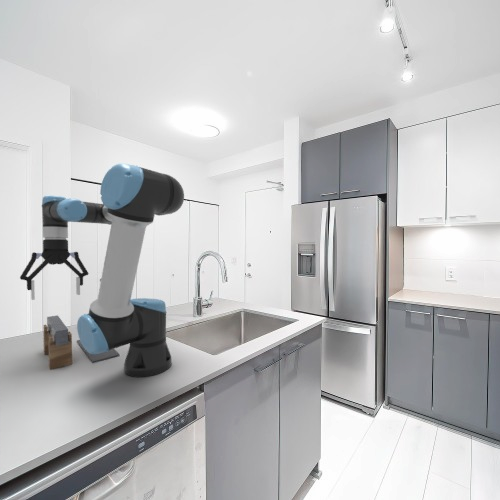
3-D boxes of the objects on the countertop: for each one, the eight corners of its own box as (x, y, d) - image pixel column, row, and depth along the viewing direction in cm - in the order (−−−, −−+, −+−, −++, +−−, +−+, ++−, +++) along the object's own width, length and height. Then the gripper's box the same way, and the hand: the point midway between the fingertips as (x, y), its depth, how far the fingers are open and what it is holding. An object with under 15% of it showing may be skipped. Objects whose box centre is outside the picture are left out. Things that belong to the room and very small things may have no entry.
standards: (72, 363, 94) (71, 334, 94) (50, 369, 90) (49, 338, 89) (63, 347, 109) (62, 321, 108) (43, 351, 104) (43, 325, 104)
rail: (68, 343, 91) (68, 329, 91) (55, 346, 89) (55, 331, 89) (57, 327, 109) (57, 315, 109) (47, 329, 107) (46, 316, 107)
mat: (119, 355, 101) (119, 354, 101) (92, 363, 95) (92, 361, 95) (100, 336, 121) (100, 335, 121) (76, 341, 115) (76, 340, 115)
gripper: (91, 239, 110) (92, 291, 110) (10, 238, 93) (11, 299, 93) (96, 239, 104) (97, 293, 104) (10, 238, 87) (11, 303, 88)
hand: (56, 296), depth 99 cm, fingers open, 13 cm apart
